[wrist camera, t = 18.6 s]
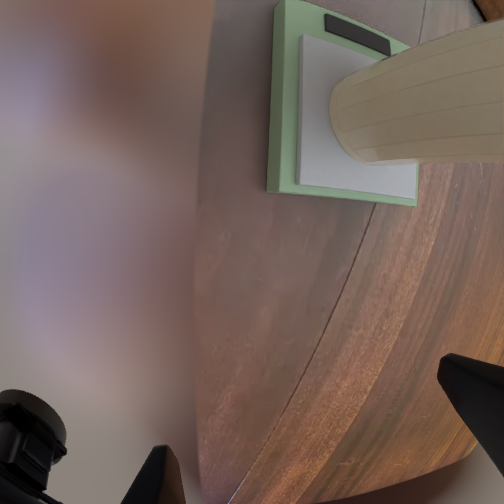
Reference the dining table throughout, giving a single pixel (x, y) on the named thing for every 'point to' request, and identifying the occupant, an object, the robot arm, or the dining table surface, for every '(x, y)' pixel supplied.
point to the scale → (324, 108)
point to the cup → (427, 102)
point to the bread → (491, 8)
